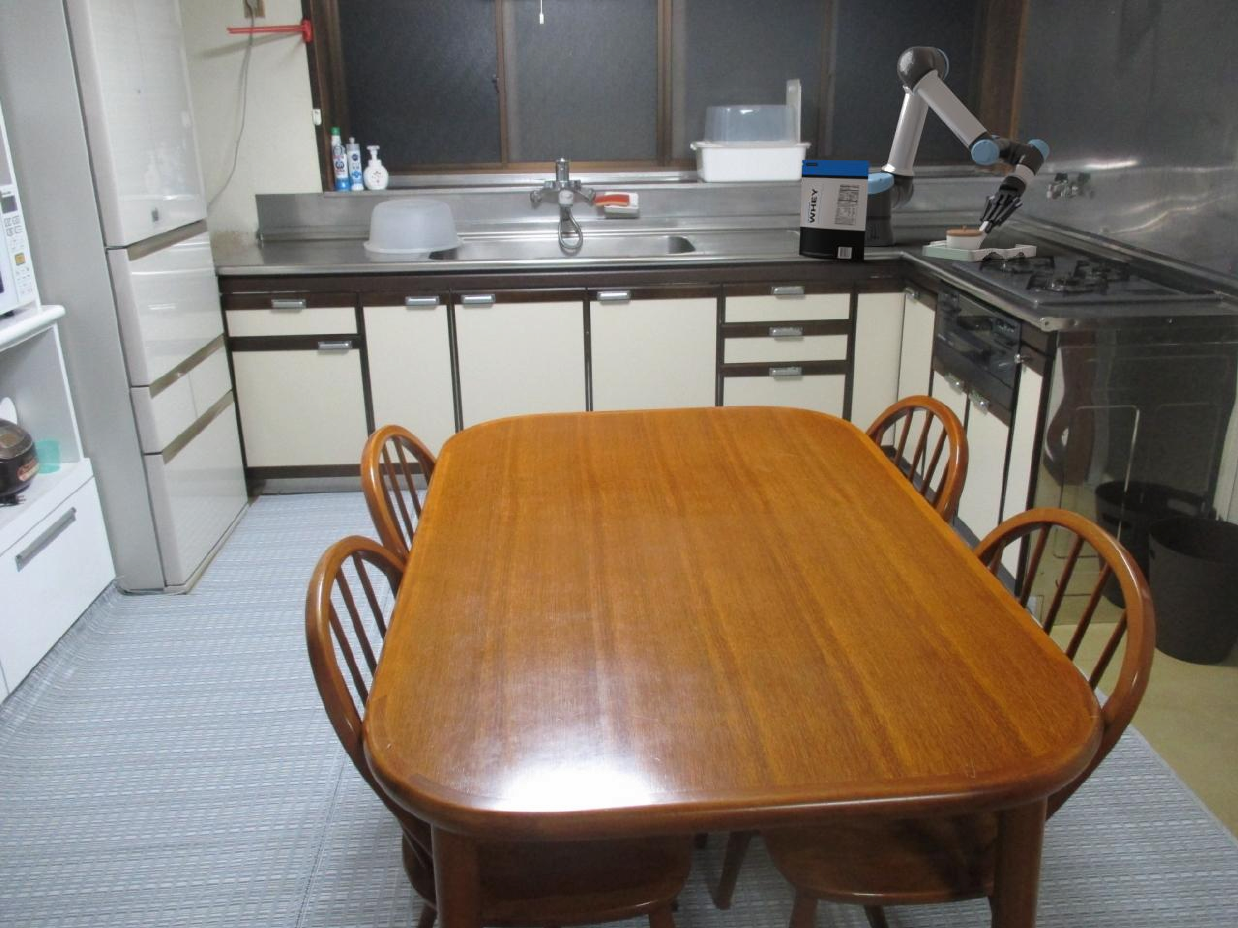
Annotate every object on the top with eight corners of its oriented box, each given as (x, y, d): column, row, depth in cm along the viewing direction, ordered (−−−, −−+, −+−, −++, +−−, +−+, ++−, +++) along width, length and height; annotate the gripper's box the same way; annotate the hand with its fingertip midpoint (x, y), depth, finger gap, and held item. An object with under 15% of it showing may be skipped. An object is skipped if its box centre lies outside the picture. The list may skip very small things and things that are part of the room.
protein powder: (855, 262, 316) (860, 161, 306) (790, 256, 332) (793, 160, 322) (871, 259, 322) (877, 160, 312) (807, 253, 338) (810, 159, 329)
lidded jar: (975, 253, 328) (978, 224, 325) (984, 258, 318) (987, 227, 315) (941, 254, 329) (943, 224, 326) (948, 258, 319) (951, 228, 315)
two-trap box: (909, 254, 330) (910, 244, 329) (959, 247, 343) (960, 238, 342) (984, 263, 307) (985, 253, 306) (1035, 256, 320) (1036, 246, 319)
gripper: (1038, 191, 325) (999, 249, 322) (1003, 190, 335) (965, 246, 332) (1029, 175, 321) (990, 234, 317) (994, 174, 331) (956, 230, 328)
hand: (977, 240), depth 325 cm, fingers closed
